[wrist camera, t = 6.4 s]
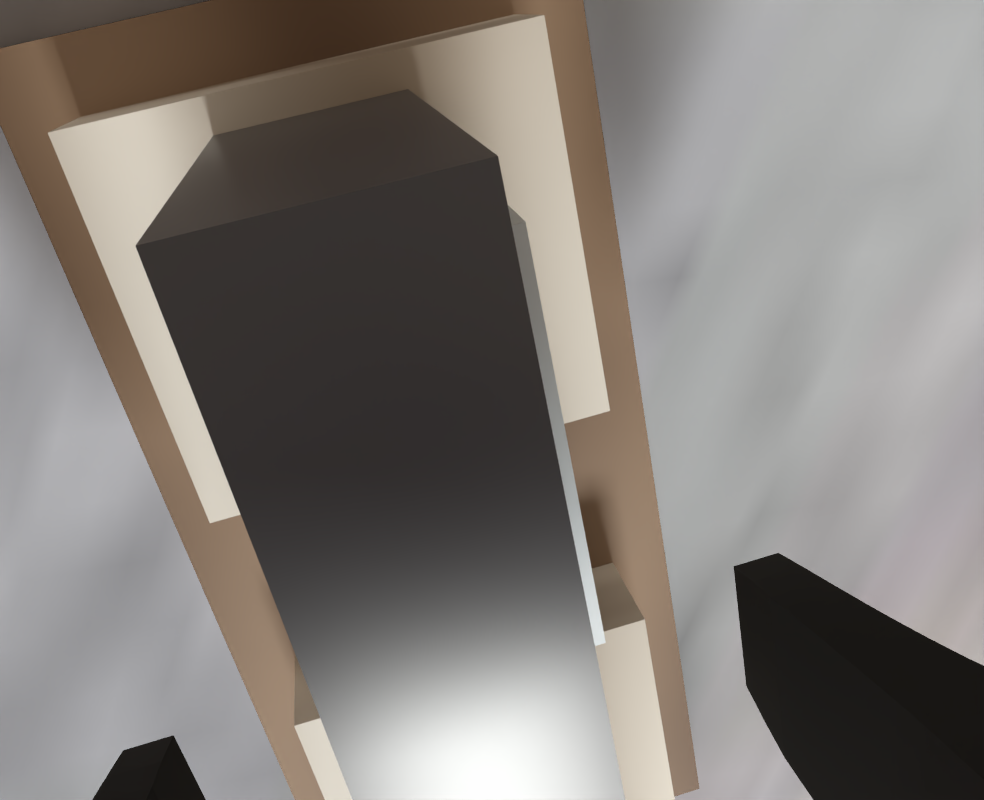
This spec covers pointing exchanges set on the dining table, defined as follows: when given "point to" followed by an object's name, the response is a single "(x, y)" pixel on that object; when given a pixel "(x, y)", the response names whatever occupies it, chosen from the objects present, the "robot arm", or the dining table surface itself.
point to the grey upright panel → (395, 445)
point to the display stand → (529, 192)
